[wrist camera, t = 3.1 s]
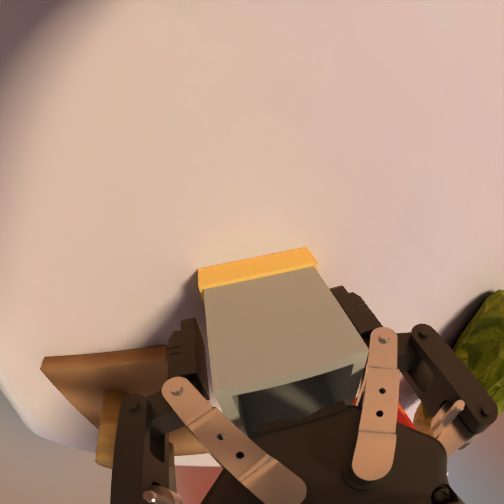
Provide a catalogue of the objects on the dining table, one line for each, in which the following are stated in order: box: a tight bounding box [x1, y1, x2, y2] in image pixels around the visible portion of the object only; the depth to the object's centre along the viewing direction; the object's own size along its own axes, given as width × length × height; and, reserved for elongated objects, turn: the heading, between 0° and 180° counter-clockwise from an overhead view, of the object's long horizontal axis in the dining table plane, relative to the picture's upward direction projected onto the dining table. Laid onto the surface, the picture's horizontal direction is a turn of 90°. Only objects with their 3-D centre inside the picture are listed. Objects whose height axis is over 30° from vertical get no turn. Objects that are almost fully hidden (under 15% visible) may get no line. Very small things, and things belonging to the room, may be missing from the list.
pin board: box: [40, 345, 208, 494], centre depth 16 cm, size 16×10×7 cm, turn 8°
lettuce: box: [413, 289, 504, 437], centre depth 20 cm, size 12×21×11 cm, turn 161°
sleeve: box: [198, 247, 369, 436], centre depth 12 cm, size 6×6×7 cm
